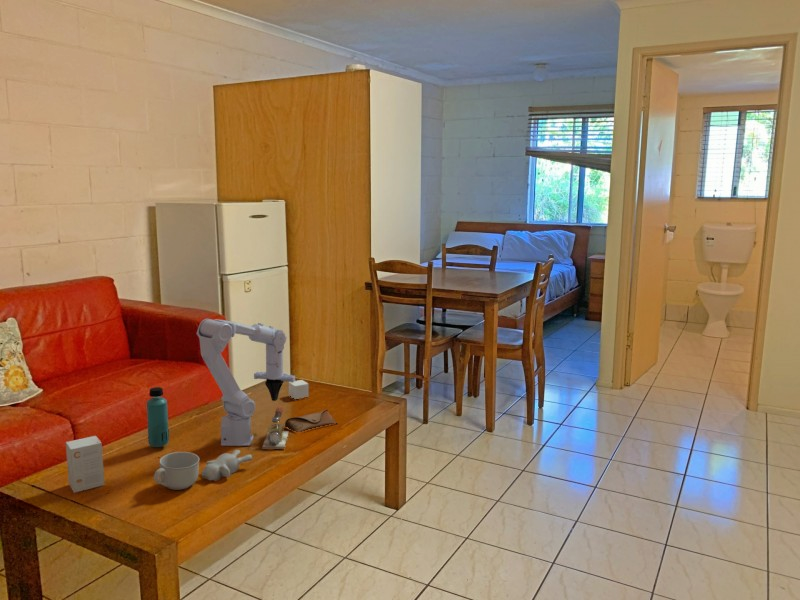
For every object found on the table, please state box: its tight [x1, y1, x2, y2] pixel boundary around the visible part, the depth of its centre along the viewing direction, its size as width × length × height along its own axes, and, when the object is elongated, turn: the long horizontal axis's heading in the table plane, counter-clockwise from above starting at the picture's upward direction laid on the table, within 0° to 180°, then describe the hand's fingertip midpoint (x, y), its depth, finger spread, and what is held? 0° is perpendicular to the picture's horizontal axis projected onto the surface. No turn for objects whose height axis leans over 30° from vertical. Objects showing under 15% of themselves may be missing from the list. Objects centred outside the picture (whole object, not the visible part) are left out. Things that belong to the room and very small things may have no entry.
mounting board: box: [261, 430, 290, 450], centre depth 213 cm, size 13×7×1 cm, turn 3°
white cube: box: [288, 379, 310, 400], centre depth 257 cm, size 6×6×6 cm
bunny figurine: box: [200, 449, 254, 482], centre depth 190 cm, size 10×5×15 cm
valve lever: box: [271, 407, 284, 424], centre depth 216 cm, size 10×2×2 cm, turn 1°
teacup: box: [153, 451, 200, 491], centre depth 180 cm, size 14×11×8 cm
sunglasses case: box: [284, 409, 337, 432], centre depth 228 cm, size 18×7×7 cm, turn 130°
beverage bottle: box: [145, 386, 170, 448], centre depth 204 cm, size 6×7×20 cm
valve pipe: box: [267, 423, 284, 446], centre depth 213 cm, size 11×4×6 cm, turn 3°
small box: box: [65, 435, 105, 494], centre depth 179 cm, size 8×6×13 cm
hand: (274, 399), depth 223 cm, fingers closed
